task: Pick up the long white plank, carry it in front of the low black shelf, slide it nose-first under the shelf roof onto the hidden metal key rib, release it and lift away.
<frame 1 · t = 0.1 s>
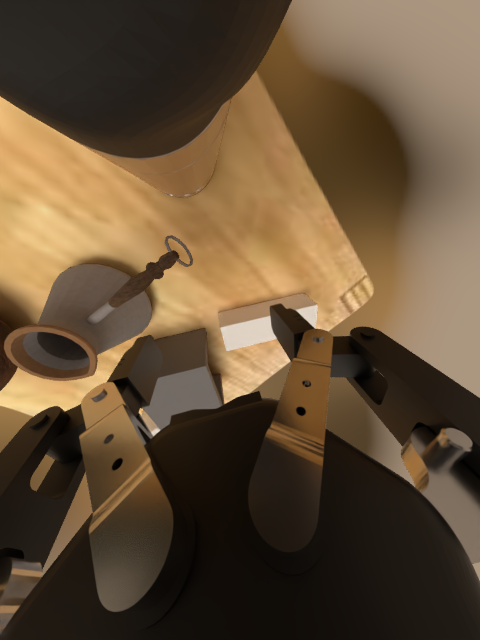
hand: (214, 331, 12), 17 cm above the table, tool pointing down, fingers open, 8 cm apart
shelf: (187, 361, 35), on the table
long white plank: (262, 314, 33), on the table
coffee pot: (138, 278, 25), on the table
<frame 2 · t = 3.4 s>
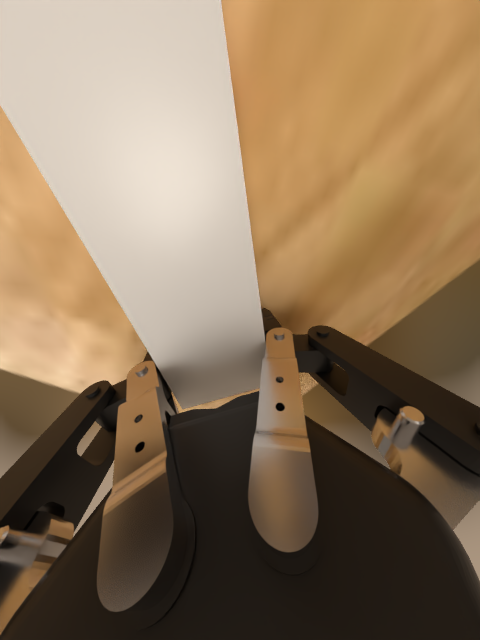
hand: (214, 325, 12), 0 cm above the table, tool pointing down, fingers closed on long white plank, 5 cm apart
long white plank: (187, 232, 10), on the table, touching gripper
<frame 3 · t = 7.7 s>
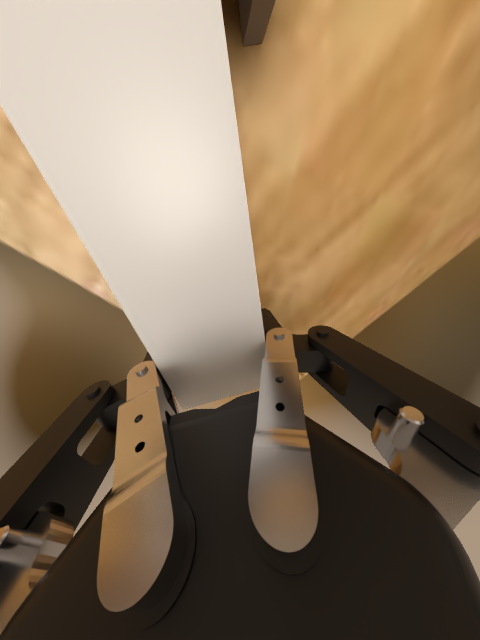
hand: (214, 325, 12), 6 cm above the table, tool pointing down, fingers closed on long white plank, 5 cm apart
long white plank: (187, 233, 10), point 6 cm above the table, touching gripper
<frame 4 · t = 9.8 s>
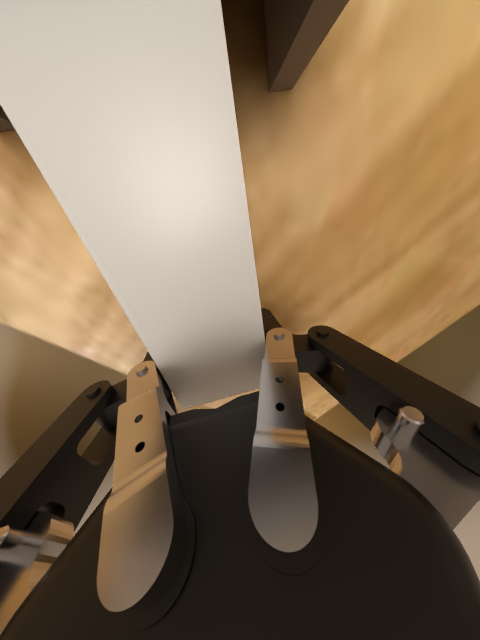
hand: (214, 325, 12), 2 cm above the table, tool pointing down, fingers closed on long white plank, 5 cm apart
long white plank: (187, 233, 10), point 1 cm above the table, touching gripper
when the fingers open (2 cm above the table, at t = 11.6 s): long white plank drops 2 cm, on the table.
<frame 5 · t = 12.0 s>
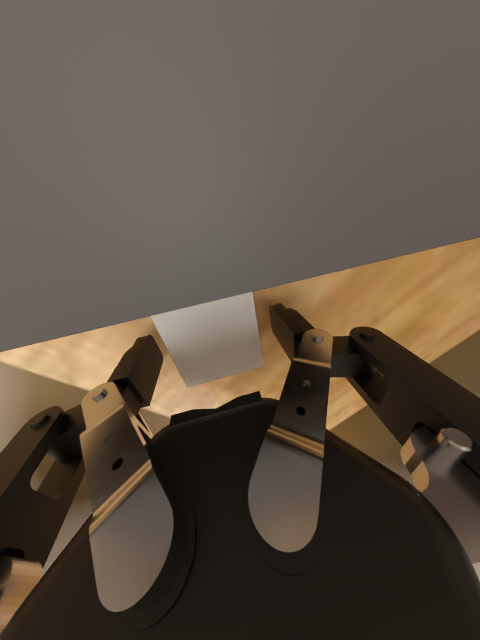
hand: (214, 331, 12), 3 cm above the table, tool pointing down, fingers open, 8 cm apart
shelf: (159, 132, 9), on the table
long white plank: (190, 234, 11), on the table
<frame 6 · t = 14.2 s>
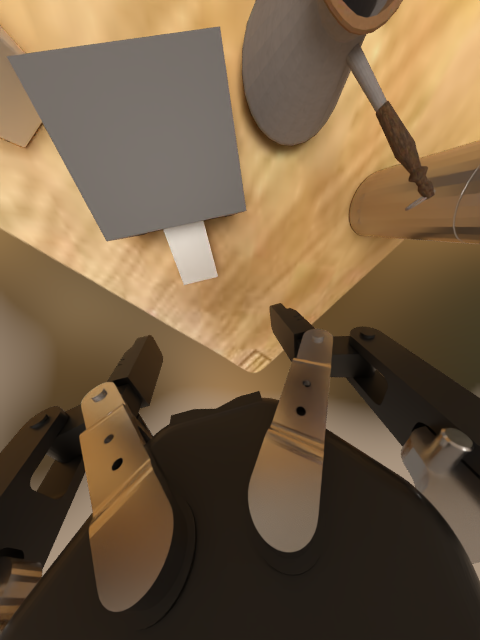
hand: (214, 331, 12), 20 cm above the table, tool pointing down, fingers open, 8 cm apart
medicine bottle: (2, 82, 17), on the table
shelf: (171, 177, 22), on the table
long white plank: (184, 218, 25), on the table
coffee pot: (300, 137, 23), on the table
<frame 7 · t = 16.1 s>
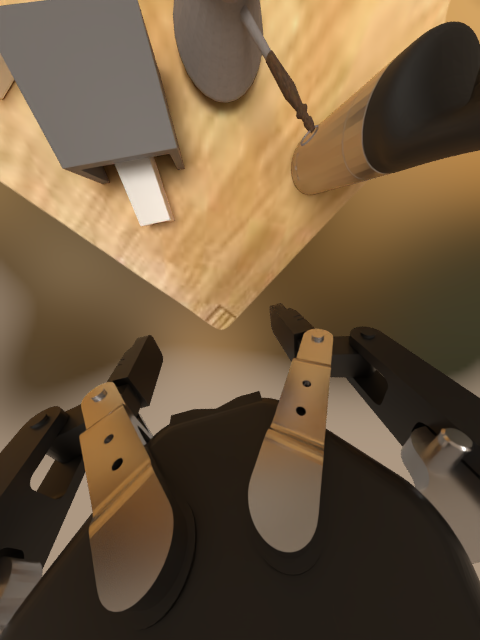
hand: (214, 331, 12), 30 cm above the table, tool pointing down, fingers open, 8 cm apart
shelf: (127, 131, 27), on the table
long white plank: (142, 170, 29), on the table
coffee pot: (238, 99, 27), on the table
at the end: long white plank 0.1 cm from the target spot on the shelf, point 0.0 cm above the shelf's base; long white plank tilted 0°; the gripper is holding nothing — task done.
